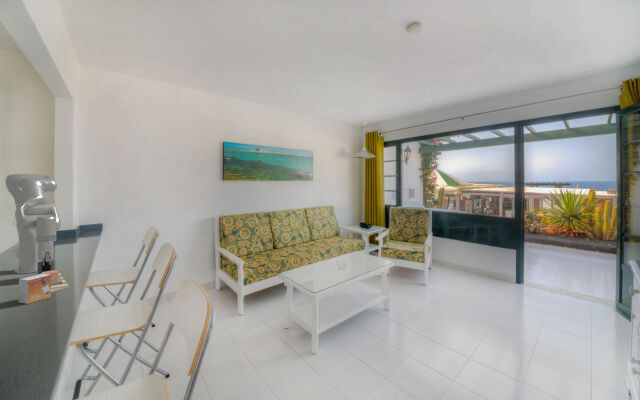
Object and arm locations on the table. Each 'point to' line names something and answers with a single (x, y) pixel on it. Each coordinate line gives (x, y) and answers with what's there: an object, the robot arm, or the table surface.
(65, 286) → the board
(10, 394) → the table surface
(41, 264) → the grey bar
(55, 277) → the cube
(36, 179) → the robot arm
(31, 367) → the table surface
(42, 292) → the small box
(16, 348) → the table surface
